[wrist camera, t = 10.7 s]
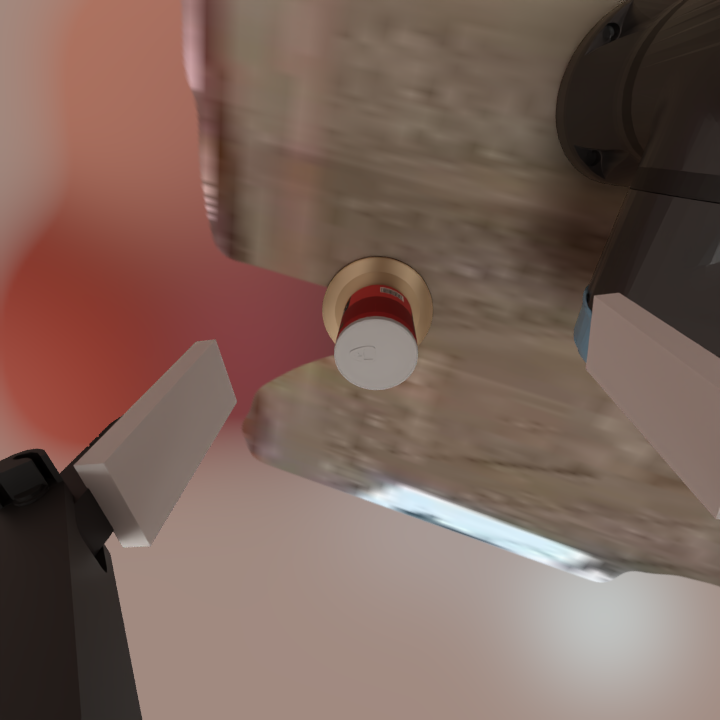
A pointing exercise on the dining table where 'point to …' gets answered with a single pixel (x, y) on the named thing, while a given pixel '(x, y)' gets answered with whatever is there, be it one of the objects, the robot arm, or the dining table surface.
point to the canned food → (376, 339)
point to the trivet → (378, 274)
